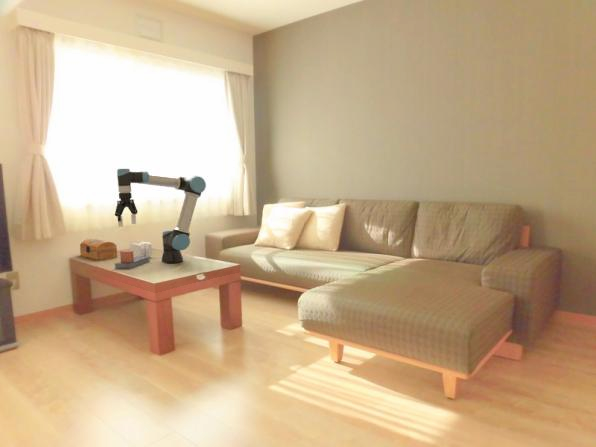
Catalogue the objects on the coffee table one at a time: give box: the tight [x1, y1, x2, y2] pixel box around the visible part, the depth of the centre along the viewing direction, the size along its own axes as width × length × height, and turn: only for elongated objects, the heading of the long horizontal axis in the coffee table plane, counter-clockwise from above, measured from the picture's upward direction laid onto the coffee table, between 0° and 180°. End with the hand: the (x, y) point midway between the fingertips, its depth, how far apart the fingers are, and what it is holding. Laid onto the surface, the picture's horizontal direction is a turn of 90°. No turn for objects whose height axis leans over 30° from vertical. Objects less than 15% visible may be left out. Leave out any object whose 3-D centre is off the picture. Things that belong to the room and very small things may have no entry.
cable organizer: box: [129, 241, 153, 258], centre depth 318 cm, size 15×11×12 cm
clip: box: [119, 250, 134, 263], centre depth 287 cm, size 3×8×11 cm, turn 77°
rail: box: [114, 256, 151, 270], centre depth 293 cm, size 24×11×4 cm, turn 167°
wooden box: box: [79, 238, 118, 261], centre depth 324 cm, size 30×16×14 cm, turn 50°
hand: (127, 225), depth 269 cm, fingers open, 13 cm apart
